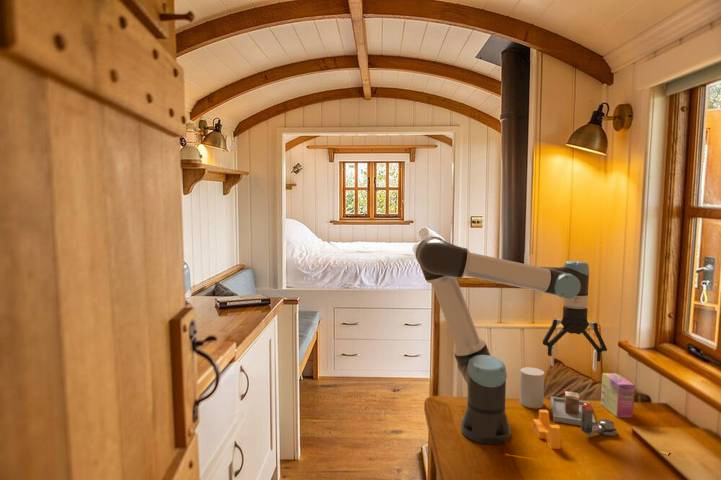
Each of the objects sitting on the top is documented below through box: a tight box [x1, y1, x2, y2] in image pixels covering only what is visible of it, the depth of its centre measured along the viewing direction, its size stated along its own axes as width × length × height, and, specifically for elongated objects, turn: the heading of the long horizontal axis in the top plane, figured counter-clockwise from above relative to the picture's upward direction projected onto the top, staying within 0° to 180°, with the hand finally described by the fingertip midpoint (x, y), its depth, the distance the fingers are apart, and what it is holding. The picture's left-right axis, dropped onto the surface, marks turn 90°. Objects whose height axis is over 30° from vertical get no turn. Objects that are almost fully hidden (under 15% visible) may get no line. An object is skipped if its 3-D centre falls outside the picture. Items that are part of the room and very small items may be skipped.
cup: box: [519, 366, 545, 409], centre depth 159 cm, size 8×8×12 cm
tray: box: [550, 396, 597, 427], centre depth 151 cm, size 13×17×2 cm
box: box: [600, 372, 636, 419], centre depth 153 cm, size 10×6×12 cm, turn 179°
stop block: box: [564, 391, 580, 415], centre depth 151 cm, size 4×4×6 cm
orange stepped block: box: [532, 409, 562, 450], centre depth 135 cm, size 12×4×6 cm, turn 175°
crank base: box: [598, 427, 618, 438], centre depth 133 cm, size 20×6×1 cm, turn 36°
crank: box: [580, 402, 615, 436], centre depth 137 cm, size 13×4×10 cm, turn 114°
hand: (573, 367), depth 150 cm, fingers open, 12 cm apart
